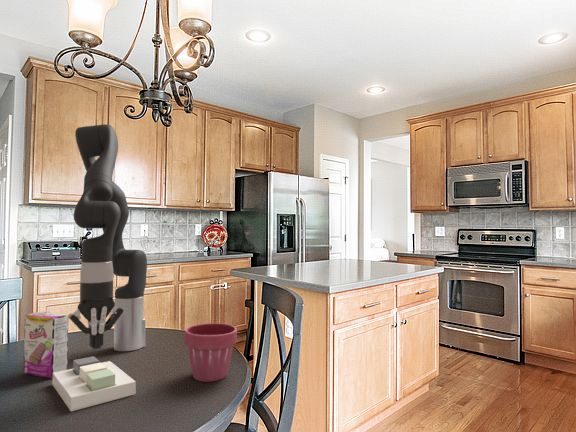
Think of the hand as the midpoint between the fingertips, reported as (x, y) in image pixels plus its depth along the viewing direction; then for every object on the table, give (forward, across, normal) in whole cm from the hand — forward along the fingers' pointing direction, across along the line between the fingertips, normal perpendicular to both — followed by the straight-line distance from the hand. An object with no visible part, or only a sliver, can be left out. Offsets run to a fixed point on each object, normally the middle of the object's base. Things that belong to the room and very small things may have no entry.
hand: (96, 348), depth 98 cm
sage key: (+7, +1, +6) cm, 10 cm away
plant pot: (+10, -26, +11) cm, 30 cm away
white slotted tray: (+10, +1, 0) cm, 10 cm away
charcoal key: (+8, +1, -7) cm, 10 cm away
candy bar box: (+10, +7, -20) cm, 24 cm away
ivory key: (+8, +1, 0) cm, 8 cm away
